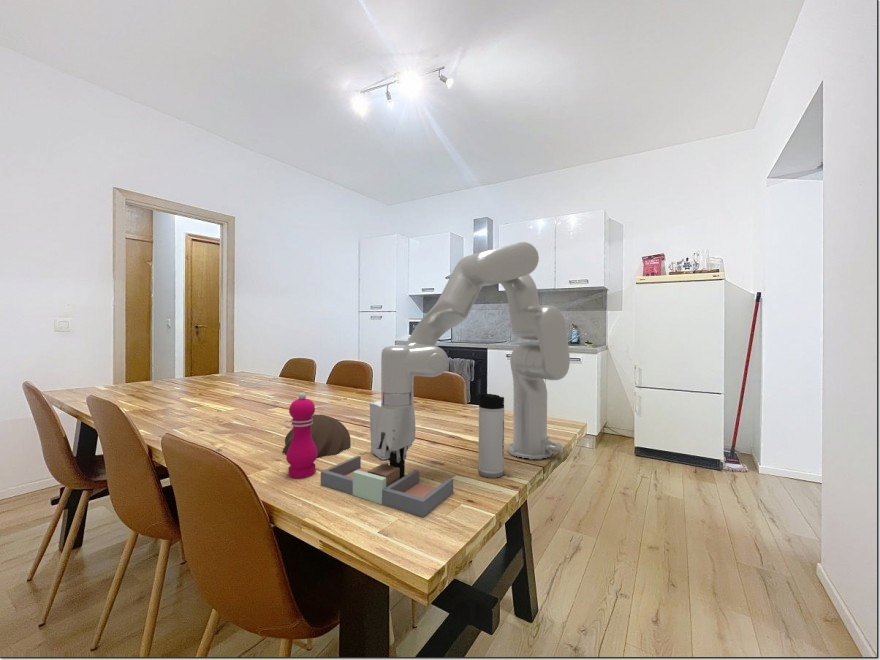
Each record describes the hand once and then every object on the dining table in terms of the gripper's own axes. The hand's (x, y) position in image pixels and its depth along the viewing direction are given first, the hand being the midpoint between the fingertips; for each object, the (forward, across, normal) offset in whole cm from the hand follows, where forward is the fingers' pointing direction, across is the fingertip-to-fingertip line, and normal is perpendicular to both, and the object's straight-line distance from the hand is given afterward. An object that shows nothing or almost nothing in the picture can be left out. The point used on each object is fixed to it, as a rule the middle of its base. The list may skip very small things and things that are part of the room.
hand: (397, 476), depth 86 cm
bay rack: (+1, +4, 0) cm, 4 cm away
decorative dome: (+2, -7, -35) cm, 36 cm away
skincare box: (+1, -13, -14) cm, 19 cm away
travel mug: (+1, -16, +17) cm, 23 cm away
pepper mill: (+1, +8, -23) cm, 24 cm away
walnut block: (+1, +5, 0) cm, 5 cm away
